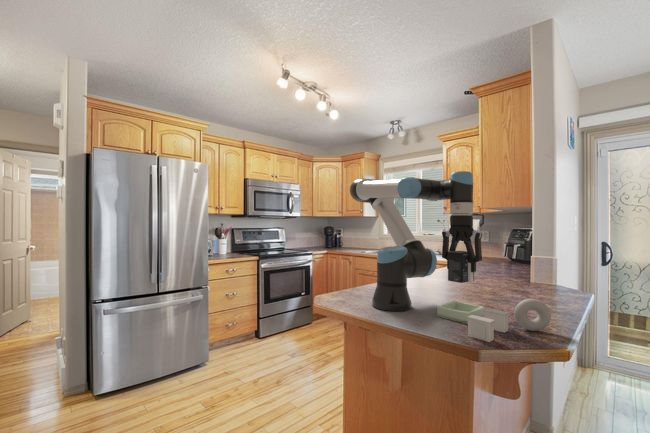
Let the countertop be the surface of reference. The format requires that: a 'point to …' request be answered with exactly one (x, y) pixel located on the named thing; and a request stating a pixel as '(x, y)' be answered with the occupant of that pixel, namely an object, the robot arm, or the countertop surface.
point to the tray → (459, 311)
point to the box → (458, 266)
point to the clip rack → (487, 324)
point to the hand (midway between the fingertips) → (461, 279)
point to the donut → (537, 323)
